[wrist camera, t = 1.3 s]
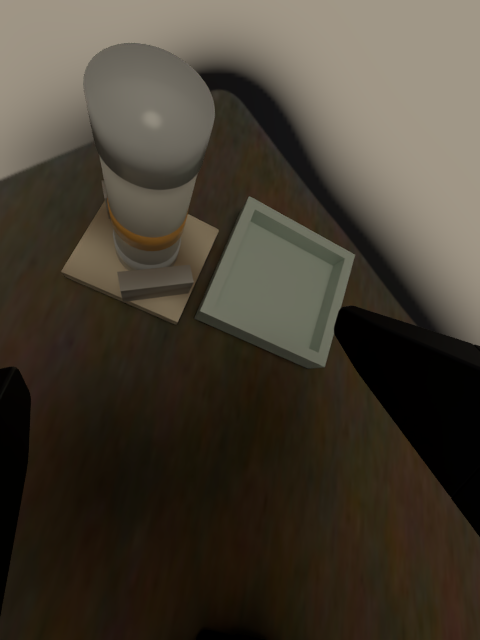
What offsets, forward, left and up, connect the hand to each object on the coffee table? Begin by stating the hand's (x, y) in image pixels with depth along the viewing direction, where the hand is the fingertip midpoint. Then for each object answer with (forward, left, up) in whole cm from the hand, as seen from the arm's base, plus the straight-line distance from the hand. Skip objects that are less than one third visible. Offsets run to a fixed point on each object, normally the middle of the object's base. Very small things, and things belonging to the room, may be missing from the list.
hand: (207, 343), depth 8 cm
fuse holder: (+7, +5, -13) cm, 16 cm away
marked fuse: (+7, +5, -12) cm, 15 cm away
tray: (+9, -5, -13) cm, 17 cm away
